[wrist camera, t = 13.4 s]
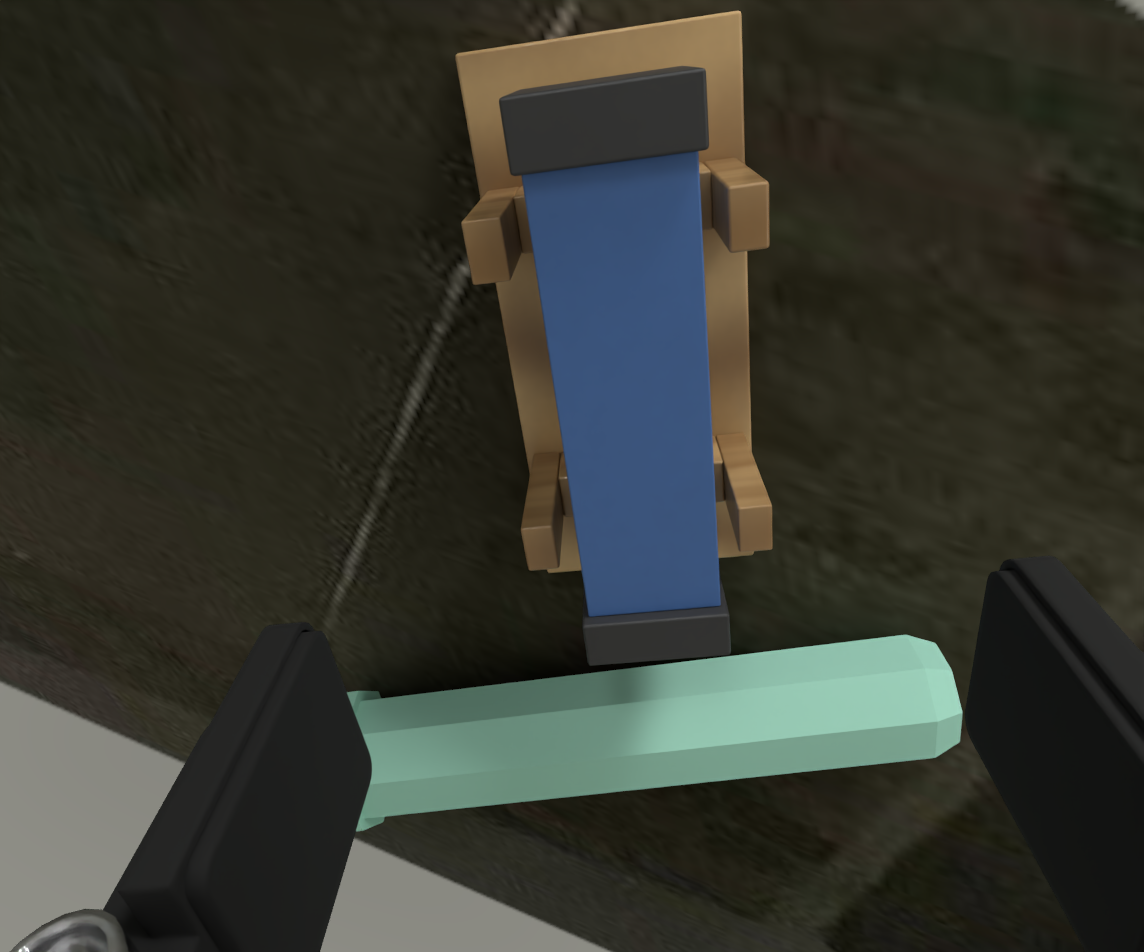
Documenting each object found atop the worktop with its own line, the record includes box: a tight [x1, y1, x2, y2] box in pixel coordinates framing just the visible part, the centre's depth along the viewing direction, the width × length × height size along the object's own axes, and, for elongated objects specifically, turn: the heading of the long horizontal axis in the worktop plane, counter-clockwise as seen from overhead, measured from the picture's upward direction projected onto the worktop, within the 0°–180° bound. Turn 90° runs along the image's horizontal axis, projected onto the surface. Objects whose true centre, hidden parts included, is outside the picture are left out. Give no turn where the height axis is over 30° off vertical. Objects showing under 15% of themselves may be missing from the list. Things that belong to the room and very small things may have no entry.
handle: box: [499, 66, 731, 666], centre depth 22 cm, size 16×4×4 cm, turn 7°
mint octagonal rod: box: [347, 635, 962, 831], centre depth 32 cm, size 6×6×25 cm
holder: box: [455, 11, 772, 573], centre depth 24 cm, size 18×8×6 cm, turn 7°
